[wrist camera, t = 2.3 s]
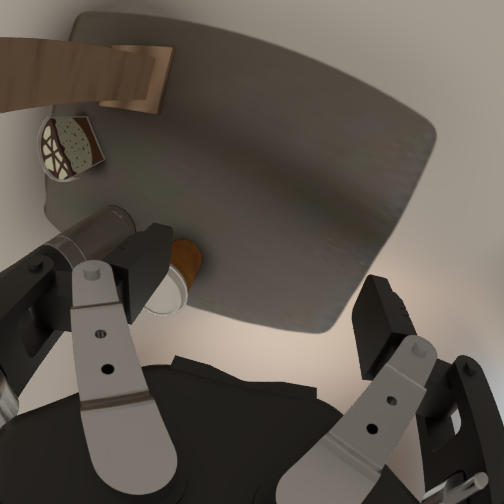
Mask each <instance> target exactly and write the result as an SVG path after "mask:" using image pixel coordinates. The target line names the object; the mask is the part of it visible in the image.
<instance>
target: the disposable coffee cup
mask: <svg viewBox="0 0 504 504" xmlns="http://www.w3.org/2000/svg"><path fill="white" fill-rule="evenodd" d="M201 263H202V255H201V252H200V250H199V248H198V247H197V246H196V245H195V244H194V243H192V242H191V241H189V240H185V239H180V240H176V241H174V242H173V243H172V248H171V262H170V267H169V270H168V273H167V275H166V277H165V278H164V279H163V281H162V282H161V283H160V285H159V286H158V288H157V289H156V290H155V292H154V293H153V295H152V296H151V298H150V299H149V300H148V302H147V303H146V305H145V306H144V307H143V309H144V310H146V311H147V312H149V313H151V314H153V315H156V316H161V317H166V316H170V315H173V314H175V313H177V312H179V311H181V310H182V309H183V308H184V307H185V305H186V303H187V299H188V292H189V290H190V288H191V286H192V283H193V281H194V279H195V276H196V274H197V272H198V269H199V267H200V265H201Z"/></svg>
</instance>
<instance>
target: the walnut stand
mask: <svg viewBox="0 0 504 504" xmlns="http://www.w3.org/2000/svg"><path fill="white" fill-rule="evenodd" d="M175 49H176V48H173V47H161V46H140V45H112V46H111V48H108V47H102V46H96V45H90V44H83V43H76V42H68V41H59V40H49V39H36V38H12V37H9V38H8V37H0V113H5V112H9V111H15V110H21V109H27V108H34V107H41V106H49V105H57V104H67V103H78V102H92V101H100V103H99V106H106V107H113V108H121V109H127V110H134V111H140V112H146V113H152V114H160V111H161V106H162V101H163V97H164V92H165V88H166V84H167V80H168V75H169V71H170V67H171V64H172V60H173V56H174V52H175Z"/></svg>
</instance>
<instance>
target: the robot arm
mask: <svg viewBox="0 0 504 504" xmlns="http://www.w3.org/2000/svg"><path fill="white" fill-rule="evenodd" d="M172 235H173V230H172V227H170V226H166V225H162V224H157V223H153V224H152V225H151V226H149V227H148V228H147V229H146V230H145V231H144V232H137V233H135V227H134V224H133V222H132V220H131V218H130V217H129V215H128V214H127V213H126V212H125V211H124V210H122V209H121V208H119V207H116V206H107V207H105V208H103V209H102V210H100V211H98V212H96V213H94V214H92V215H91V216H89V217H87V218H85V219H84V220H82V221H80V222H78V223H77V224H75V225H73V226H72V227H70V228H68V229H67V230H65V231H63V232H62V233H60V234H58V235H57V236H55V237H54V238H52V239H51V240H49V241H47V242H46V243H44V244H43V245H41V246H40V247H38V248H37V249H35V250H34V251H33V252H31V253H29V254H28V255H26V256H25V257H24V258H22V259H21V260H19V261H18V262H16V263H15V264H13V265H11V266H10V267H8V268H7V269H5V270H3V271H2V272H0V504H504V426H503V422H502V419H501V416H500V414H499V411H498V408H497V405H496V402H495V400H494V397H493V394H492V392H491V390H490V387H489V384H488V382H487V379H486V377H485V375H484V372H483V370H482V368H481V366H480V365H479V364H478V363H477V362H476V361H475V360H474V359H472V358H471V357H468V356H465V355H460V356H458V357H457V358H456V360H455V361H454V362H453V364H450V363H447V362H445V361H442V360H440V359H438V358H437V352H436V349H435V348H434V346H433V345H432V344H431V343H430V342H429V341H427V340H426V339H424V338H422V337H420V336H417V333H416V331H415V328H414V326H413V324H412V321H411V319H410V317H409V314H408V312H407V311H406V307H405V305H404V303H403V301H402V300H401V299H400V298H399V296H398V295H397V294H396V293H395V292H393V291H392V289H391V287H390V284H389V282H388V280H387V279H386V278H383V277H379V276H375V275H371V274H370V275H368V276H367V278H366V280H365V282H364V284H363V287H362V289H361V291H360V293H359V296H358V298H357V300H356V302H355V305H354V307H353V311H352V324H353V329H354V334H355V339H356V345H357V351H358V356H359V363H360V369H361V375H362V380H370V381H372V382H371V383H370V385H369V386H368V387H367V388H366V390H365V391H364V392H363V393H362V395H361V396H360V397H359V398H358V399H357V401H356V402H355V403H354V404H353V405H352V406H351V408H350V409H349V410H348V411H347V412H346V413H345V414H344V415H343V414H342V413H341V412H340V411H338V410H337V409H335V408H334V407H333V406H331V405H329V404H327V403H326V402H324V401H322V400H319V399H317V388H315V387H309V386H303V385H297V384H292V383H286V382H247V381H243V380H240V379H238V378H236V377H234V376H231V375H229V374H227V373H225V372H223V371H220V370H219V369H217V368H214V367H213V366H211V365H208V364H204V363H200V362H197V361H193V360H189V359H186V358H183V357H179V356H176V355H175V357H174V360H173V362H172V364H171V365H149V366H143V367H141V366H140V363H139V360H138V357H137V354H136V351H135V348H134V344H133V341H132V337H131V335H130V330H129V327H128V324H131V325H132V323H133V322H134V321H135V319H136V318H137V316H138V314H139V313H140V312H141V310H142V309H143V307H144V306H145V305H146V303H147V302H148V300H149V299H150V298H151V296H152V295H153V293H154V292H155V290H156V289H157V288H158V286H159V285H160V283H161V282H162V281H163V279H164V278H165V277H166V275H167V273H168V270H169V267H170V262H171V248H172ZM64 331H68V332H72V341H73V352H74V361H75V369H76V376H77V383H78V389H79V392H78V393H76V394H73V395H71V396H68V397H66V398H63V399H60V400H58V401H55V402H53V403H50V404H47V405H45V406H42V407H39V408H37V409H34V410H31V411H28V412H26V413H23V414H20V415H18V416H17V413H18V410H19V401H18V397H19V395H20V394H21V392H22V391H23V389H24V388H25V386H26V385H27V383H28V382H29V380H30V378H31V377H32V376H33V374H34V373H35V371H36V370H37V368H38V367H39V365H40V364H41V362H42V361H43V360H44V358H45V357H46V355H47V354H48V353H49V351H50V350H51V349H52V347H53V346H54V344H55V343H56V342H57V340H58V339H59V337H60V336H61V335H62V334H63V332H64ZM457 409H458V410H459V414H460V418H461V427H460V430H459V432H458V433H457V434H456V435H455V432H454V427H453V423H452V419H451V415H452V414H453V413H454V412H455V411H456V410H457ZM414 415H416V421H417V426H418V433H419V440H420V446H421V454H422V462H423V471H424V482H425V495H424V497H423V499H422V501H421V503H420V502H419V501H418V500H417V499H416V498H415V497H414V495H413V494H411V492H410V491H409V490H408V489H407V488H406V487H405V485H404V484H403V483H402V482H401V481H400V480H399V479H398V477H397V476H396V475H395V474H394V473H393V472H392V471H391V470H390V468H389V467H388V466H387V465H386V462H387V461H388V459H389V457H390V456H391V454H392V453H393V451H394V450H395V448H396V446H397V445H398V443H399V441H400V440H401V438H402V436H403V434H404V433H405V431H406V429H407V428H408V426H409V424H410V422H411V420H412V418H413V417H414Z"/></svg>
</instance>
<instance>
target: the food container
mask: <svg viewBox="0 0 504 504" xmlns="http://www.w3.org/2000/svg"><path fill="white" fill-rule="evenodd" d="M54 114H55V113H54ZM54 114H51V115H49V116H48V117H46V119H45V120H44V122H43V123H42V126H41V127H40V130H39V133H38V138H37V152H38V158H39V161H40V163H41V166H42V168H43V170H44V172H45V173H46V174H47V175H48V176H49V177H50V178H51V179H53V180H55V181H59V182H70V181H75V180H77V179H79V178H80V177H75V176H77V175H78V174H80V173H82V172H84V171H86V170H88V169H89V168H91V167H93V166H95V165H97V164H99V163H101V162H103V161H105V160H106V159H105V157H104V155H103V152H102V150H101V148H100V145H99V143H98V141H97V138H96V136H95V133H94V131H93V128H92V126H91V123H90V121H89V118H88V116H54ZM53 116H54V117H53ZM74 177H75V178H74Z"/></svg>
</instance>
